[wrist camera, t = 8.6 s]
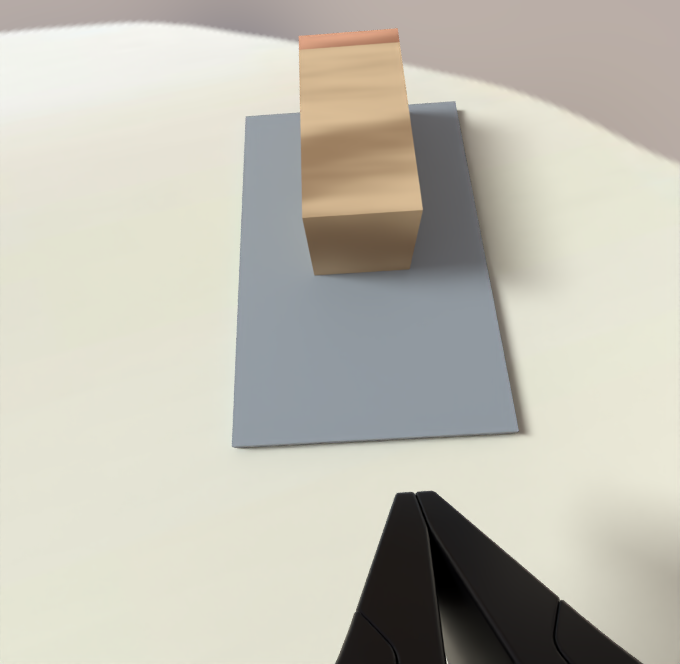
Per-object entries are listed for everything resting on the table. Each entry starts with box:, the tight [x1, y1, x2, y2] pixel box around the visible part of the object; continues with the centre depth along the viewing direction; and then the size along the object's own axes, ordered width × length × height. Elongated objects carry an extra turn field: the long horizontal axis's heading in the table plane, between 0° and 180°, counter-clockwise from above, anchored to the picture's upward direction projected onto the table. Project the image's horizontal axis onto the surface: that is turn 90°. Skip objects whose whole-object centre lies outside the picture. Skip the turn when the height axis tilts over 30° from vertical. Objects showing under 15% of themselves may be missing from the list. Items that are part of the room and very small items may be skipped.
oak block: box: [299, 29, 423, 275], centre depth 22 cm, size 5×5×11 cm
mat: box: [232, 101, 519, 448], centre depth 23 cm, size 20×13×1 cm, turn 3°
